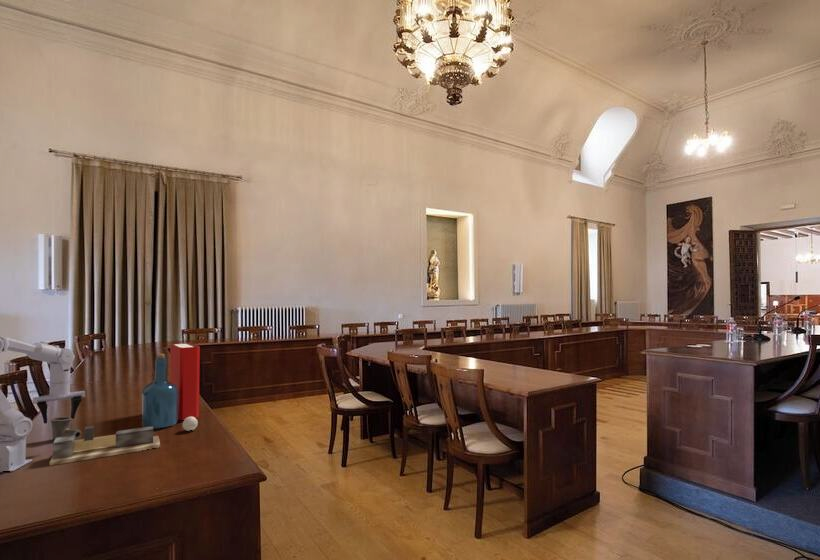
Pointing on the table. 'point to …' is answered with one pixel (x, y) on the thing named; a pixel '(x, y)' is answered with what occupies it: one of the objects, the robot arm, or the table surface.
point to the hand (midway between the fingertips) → (59, 420)
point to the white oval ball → (190, 423)
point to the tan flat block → (93, 440)
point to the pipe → (63, 428)
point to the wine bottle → (160, 399)
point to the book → (186, 377)
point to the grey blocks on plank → (124, 444)
